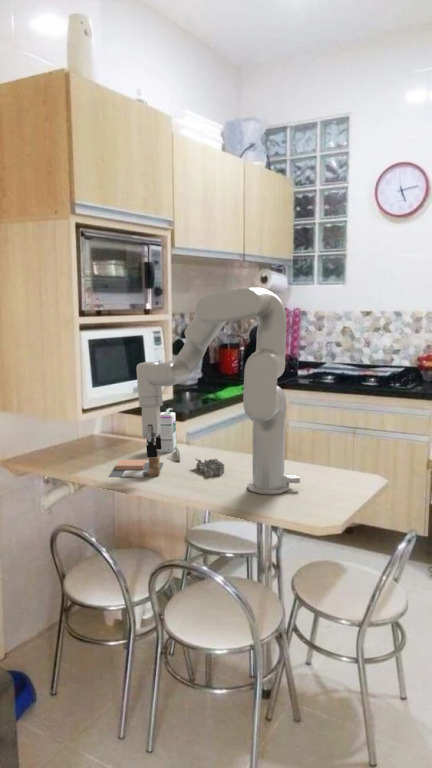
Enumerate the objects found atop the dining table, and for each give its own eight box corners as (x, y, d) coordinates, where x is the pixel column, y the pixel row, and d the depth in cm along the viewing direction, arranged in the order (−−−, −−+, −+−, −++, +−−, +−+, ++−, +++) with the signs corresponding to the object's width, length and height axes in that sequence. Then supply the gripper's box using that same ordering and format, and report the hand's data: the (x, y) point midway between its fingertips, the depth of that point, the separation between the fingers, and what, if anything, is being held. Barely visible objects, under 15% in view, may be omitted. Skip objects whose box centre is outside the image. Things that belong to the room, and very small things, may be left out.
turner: (160, 472, 195) (160, 454, 194) (157, 477, 189) (157, 459, 188) (125, 472, 196) (124, 454, 195) (121, 477, 190) (120, 459, 189)
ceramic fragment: (180, 464, 206) (180, 453, 205) (165, 465, 205) (165, 454, 205) (179, 454, 220) (179, 444, 219) (165, 455, 219) (165, 444, 219)
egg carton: (194, 469, 200) (193, 457, 199) (214, 466, 202) (214, 455, 202) (205, 478, 190) (205, 466, 189) (227, 475, 193) (226, 463, 192)
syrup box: (173, 453, 219) (172, 414, 217) (158, 452, 220) (157, 414, 218) (177, 449, 225) (176, 411, 222) (161, 448, 225) (160, 411, 223)
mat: (163, 463, 206) (163, 462, 206) (157, 478, 190) (157, 476, 190) (118, 463, 206) (117, 462, 206) (108, 478, 191) (108, 477, 190)
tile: (146, 459, 204) (120, 459, 205) (142, 465, 197) (116, 465, 198) (146, 464, 204) (120, 464, 205) (142, 470, 198) (116, 470, 198)
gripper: (143, 397, 197) (147, 447, 199) (134, 406, 180) (138, 461, 182) (165, 396, 197) (169, 446, 199) (158, 405, 180) (162, 459, 182)
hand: (154, 453), depth 191 cm, fingers open, 9 cm apart
